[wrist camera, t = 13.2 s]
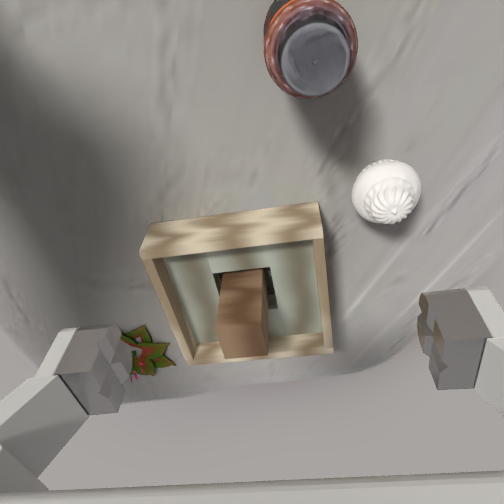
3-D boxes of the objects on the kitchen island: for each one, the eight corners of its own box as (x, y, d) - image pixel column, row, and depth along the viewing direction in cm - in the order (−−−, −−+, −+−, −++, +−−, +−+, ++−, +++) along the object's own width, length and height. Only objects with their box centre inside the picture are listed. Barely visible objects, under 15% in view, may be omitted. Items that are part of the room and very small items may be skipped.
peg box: (193, 334, 55) (187, 365, 51) (150, 223, 44) (138, 252, 41) (328, 321, 53) (333, 353, 49) (317, 201, 42) (322, 229, 38)
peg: (232, 292, 50) (224, 359, 42) (224, 264, 48) (214, 329, 40) (268, 288, 50) (268, 355, 42) (262, 259, 47) (261, 325, 39)
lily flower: (191, 365, 60) (186, 393, 57) (121, 381, 63) (112, 408, 59) (150, 310, 53) (141, 337, 50) (74, 331, 56) (60, 358, 53)
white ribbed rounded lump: (368, 135, 38) (385, 169, 32) (424, 160, 39) (449, 197, 33) (334, 189, 41) (344, 229, 36) (386, 211, 43) (403, 252, 37)
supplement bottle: (296, 83, 35) (306, 134, 26) (248, 26, 33) (240, 60, 24) (355, 30, 33) (387, 65, 24) (307, -37, 30) (323, -26, 21)
